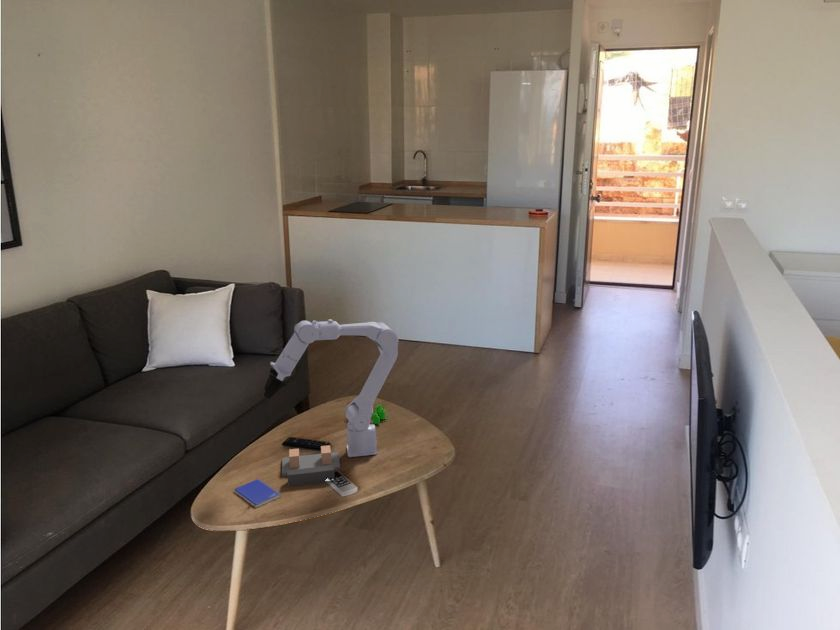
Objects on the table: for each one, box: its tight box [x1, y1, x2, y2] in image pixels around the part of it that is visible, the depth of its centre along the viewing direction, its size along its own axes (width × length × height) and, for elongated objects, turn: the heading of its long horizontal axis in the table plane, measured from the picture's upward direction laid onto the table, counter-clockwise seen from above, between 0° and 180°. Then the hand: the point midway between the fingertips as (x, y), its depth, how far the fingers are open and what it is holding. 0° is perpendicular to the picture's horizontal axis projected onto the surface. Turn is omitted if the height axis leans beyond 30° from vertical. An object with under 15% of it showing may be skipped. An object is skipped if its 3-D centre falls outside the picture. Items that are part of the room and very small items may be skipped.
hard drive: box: [234, 478, 281, 508], centre depth 196 cm, size 2×8×12 cm
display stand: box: [281, 445, 341, 477], centre depth 211 cm, size 18×10×5 cm, turn 100°
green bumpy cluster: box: [371, 404, 389, 426], centre depth 243 cm, size 15×15×7 cm
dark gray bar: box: [287, 465, 336, 487], centre depth 202 cm, size 14×3×4 cm, turn 100°
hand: (266, 393), depth 203 cm, fingers open, 7 cm apart
